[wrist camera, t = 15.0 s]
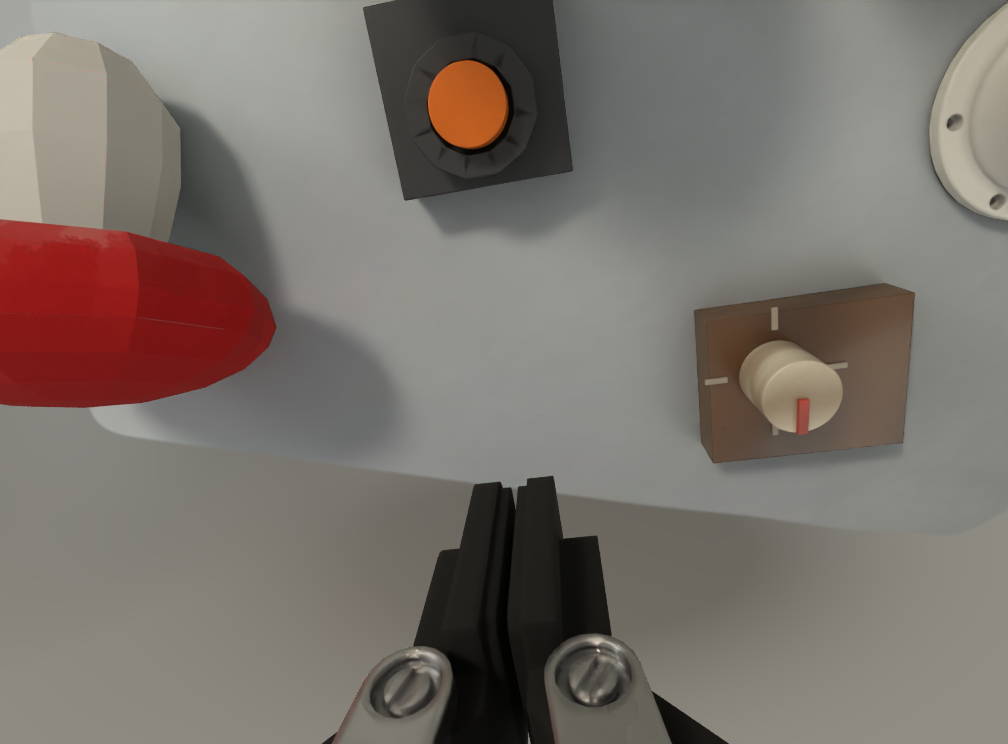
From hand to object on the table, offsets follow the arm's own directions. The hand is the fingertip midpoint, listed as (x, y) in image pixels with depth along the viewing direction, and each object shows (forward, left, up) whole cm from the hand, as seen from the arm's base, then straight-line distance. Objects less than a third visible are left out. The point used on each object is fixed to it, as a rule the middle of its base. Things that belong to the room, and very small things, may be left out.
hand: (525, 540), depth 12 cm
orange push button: (+2, -11, -23) cm, 25 cm away
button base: (+2, -12, -27) cm, 30 cm away
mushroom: (+24, -18, -24) cm, 38 cm away
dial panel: (-16, +8, -27) cm, 32 cm away
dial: (-14, +7, -24) cm, 29 cm away
